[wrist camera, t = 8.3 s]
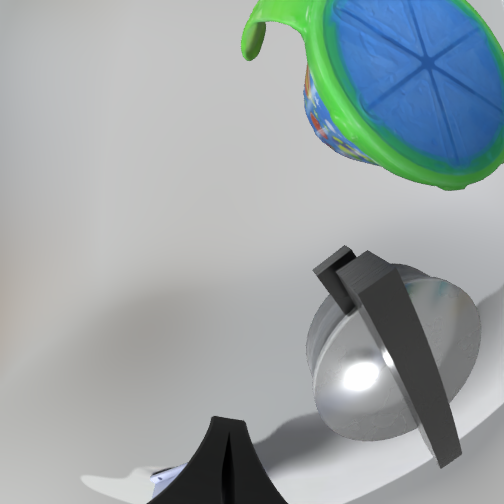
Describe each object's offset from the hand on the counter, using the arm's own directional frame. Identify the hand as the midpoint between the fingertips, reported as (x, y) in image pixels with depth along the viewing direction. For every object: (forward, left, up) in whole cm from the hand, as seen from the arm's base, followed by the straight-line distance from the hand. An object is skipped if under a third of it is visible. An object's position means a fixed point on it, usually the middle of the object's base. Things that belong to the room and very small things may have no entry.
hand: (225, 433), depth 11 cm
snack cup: (+16, +7, -11) cm, 20 cm away
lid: (+8, -8, -6) cm, 13 cm away
